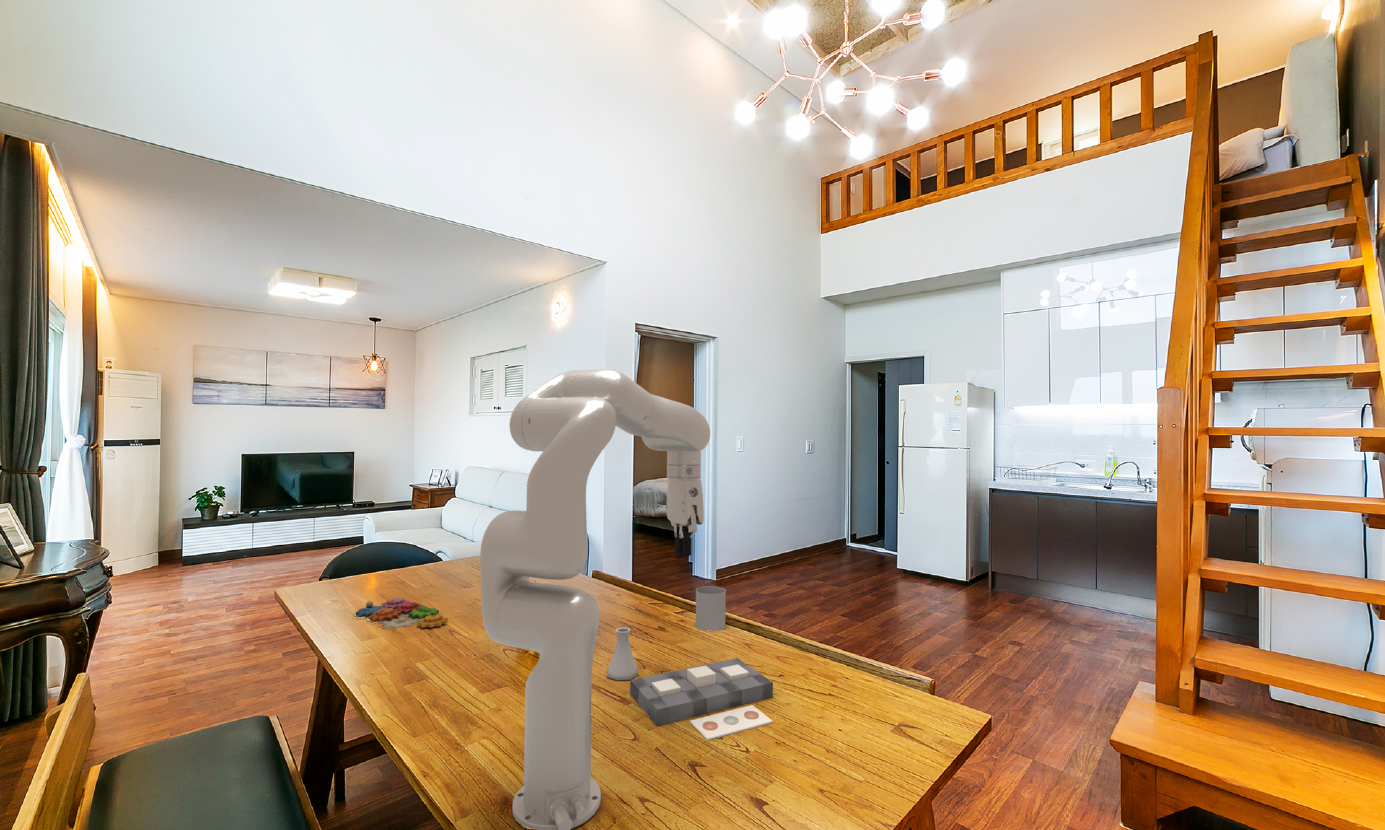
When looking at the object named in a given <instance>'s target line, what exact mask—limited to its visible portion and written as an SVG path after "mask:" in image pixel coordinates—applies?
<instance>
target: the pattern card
mask: <svg viewBox="0 0 1385 830" xmlns="http://www.w3.org/2000/svg"><path fill="white" fill-rule="evenodd" d="M689 723H690V725H691V726H693V727H694V728H695V729H696V731H698V733H700V735H701V736H702V737H703V738H705V740H706V741H711V740H715V739H718V738H721V737H725V736H729V735H732V734H736V733H739V732H743V731H746V730H751V729H755V728H757V727H758V728H759V727H761V726H765V725H769V724H772V723H774V722H773V719H771V718H769V717H768V716H767V715H766V714H765V713H764V712H763V711H761V710H760V709H758V708H757V707H755V705H753V704H751V705H746V706H743V707H739V708H735V709H732V710H727V711H723V712H719V713H715V714H711V715H706V716H704V717H699V718H695V719H692V720H691V719H690V720H689Z"/></svg>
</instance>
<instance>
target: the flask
mask: <svg viewBox="0 0 1385 830" xmlns="http://www.w3.org/2000/svg"><path fill="white" fill-rule="evenodd" d="M615 632H616V634H617V636H616V637H617V638H616V644H615V648H614V650H613V654H612V657H611V659H610V662H609V665H608V668H607V671H606V678H609V679H613V680H615V681H630V680H632V679H635V677H638V675H639V669H638V665H637V663H636V660H635V657H634V654H633V652H632V648H631V643H630V639H629V636H630V635H629V634H630V632H631V628H630V627H626V626H625V627H621V626H620V627H618V628H616V630H615Z"/></svg>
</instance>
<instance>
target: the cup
mask: <svg viewBox="0 0 1385 830" xmlns="http://www.w3.org/2000/svg"><path fill="white" fill-rule="evenodd" d="M726 599H727V597H726V588H723V587H721V586H716V585H715V586H714V585H705V586H700V587H697V588H696V589H695V628H696V627H698V628H699V629H701V630H700V631H703V630H710V631H709V632H715V631H714V630H719V631H722V629H723V628H724V627H725V628H726ZM698 628H697V629H698ZM725 628H724V629H725ZM699 629H698V630H699ZM724 629H723V630H724ZM711 630H712V631H711Z"/></svg>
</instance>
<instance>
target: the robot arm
mask: <svg viewBox="0 0 1385 830" xmlns="http://www.w3.org/2000/svg"><path fill="white" fill-rule="evenodd" d="M616 427H617V428H619V429H620V430H622V431H624V432H625V433H627V434H630V435H632V436H638V437H640V438H641V439H642V442H643V443H644V445H645V446H646V447H647V448H649V449H651V450H652V451H653V450H654V451H660V452H666V453H667V455H666V463H667V464H666V480H668V482H667V493H666V516H667V519H668V521H670V524H671V526H672V527H673V531H674V534H673V535H674V544H675V545H674V547H675V549H674V551H675V552H674V554H675V556H677V557H680V558H681V557H682V558H683V557H690V556H692V538H693V533H696V532H697V531H698V528H697V527H698V526H697V525H700V526H701V525H703V524H704V523H705V522H704V521H705V515H704V514H705V512H704V510H705V509H704V508H705V507H704V494H703V485H702V480H701V478H702V476H701V475H702V473H701V471H702V450H704V449H705V448H706V447H707V446H708V444H709V443H710V439H711V428H710V425H709V422H708V420H707V418H706V417H705V416H704V415H703V414H702V413H701V412H700V411H698V410H697V409H696V408H694V407H693V406H690V405H688V404H685V403H683V402H678V401H675V400H672V399H668V398H666V397H662V396H659V395H656V394H652V393H650V392H648V390H646V389H645V388H643V387H642V386H641V385H639V384H638V383H637V382H635V381H634V380H632V379H631V378H630V377H628V376H627V375H626V374H624V373H622V372H620V371H618V370H615V369H608V368H607V369H606V368H604V369H603V368H602V369H601V368H600V369H583V370H581V369H580V370H579V369H578V370H569V371H566V372H562V373H560V374H558V375H557V376H555V377H553V378H552V379H550V380H549V381H547V382H545V383H544V384H542V385H541V386H540V387H538V388H537V389H535V390H533V391H532V392H531V393H529V394H528V395H526V396H524V397H523V398H522V399H521V400H520V401H519V402H518V403H517V404H516V406H514V409H513V410H512V413H511V415H510V419H509V431H510V432H509V433H510V435H511V437H512V440H513V441H514V442H515V444H516V445H518V447H520V448H521V449H523V450H527V451H531V452H542V453H540V455H539V457H538V458H537V459H536V460H535V462H534V464H533V465H532V467H531V470H530V472H529V474H528V477H527V483H526V506H525V507H526V508H525V509H526V510H507V511H504V512H501V513H499V514H498V515H497V516H495V517H493V519H492V520H491V521H490V522H489V524H488V525H487V527H486V529H485V531H484V533H483V536H482V539H481V545H480V552H479V553H480V555H479V556H480V557H479V558H480V559H479V560H480V567H479V568H480V590H481V591H480V592H481V593H480V594H481V612H482V620H483V622H482V623H483V626H484V630H485V632H486V634H487V636H488V637H489V638H490V639H491V641H493V642H494V643H498V644H501V645H504V646H508V647H514V648H518V649H519V648H520V649H523V650H529V651H532V652H534V653H535V652H536V653H538V654H539V659H538V662H537V663H536V665H535V666H534V667H533V669H532V670H531V672H530V673H529V675H528V676H527V679H526V683H525V691H524V698H525V699H524V704H525V705H524V751H523V752H524V757H523V759H524V761H523V762H524V763H523V767H524V769H523V785H522V786H521V788H520V789H519V790H518V791H517V792H516V793H515V795H514V797H513V800H512V810H511V811H512V816H513V818H515V819H514V821H515V822H516V821H517V822H518V823H519V824H521V825H523V826H525V827H528V828H530V829H538V830H571V829H574V827H575V828H577V827H579V826H581V825H583V824H584V823H586V822H587V821H589V820H590V819H591V818H592V817H593V816H594V815H595V814H596V813H597V811H598V810H599V808H600V806H601V801H602V800H601V799H602V792H601V791H602V790H601V786H600V784H599V783H598V782H597V780H595V779H594V778H593V777H591V771H592V769H591V767H592V764H591V763H592V762H591V761H592V755H591V754H592V751H591V749H592V692H593V691H592V685H593V684H592V683H593V681H592V680H593V679H592V678H593V664H594V662H593V661H594V654H595V653H594V651H595V646H596V641H597V634H598V630H599V624H600V616H601V615H600V608H599V605H598V602H597V600H596V598H594V597H593V595H591V594H590V593H589V592H588V591H585V590H583V589H581V588H579V587H574V586H570V585H569V586H568V585H562V584H557V583H556V584H554V583H547V582H546V583H545V582H543V583H542V582H535V581H530V578H534V579H535V578H536V579H545V580H555V581H556V580H557V581H560V580H561V581H563V580H570V579H572V578H575V577H577V576H578V575H580V573H581V572H582V571H583V569H584V567H585V565H586V561H587V555H588V554H587V551H588V550H587V549H588V530H587V529H588V526H587V524H588V523H587V522H588V521H587V484H588V479H589V476H590V473H591V470H592V468H593V466H594V464H595V462H596V460H597V459H598V457H599V456H600V454H601V453H602V452H603V450H604V449H605V448H607V445H608V444H609V442H611V440H612V437H613V436H614V433H615V431H616ZM517 822H516V823H517ZM518 823H517V824H518ZM519 824H518V825H519ZM521 825H520V826H521Z"/></svg>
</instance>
